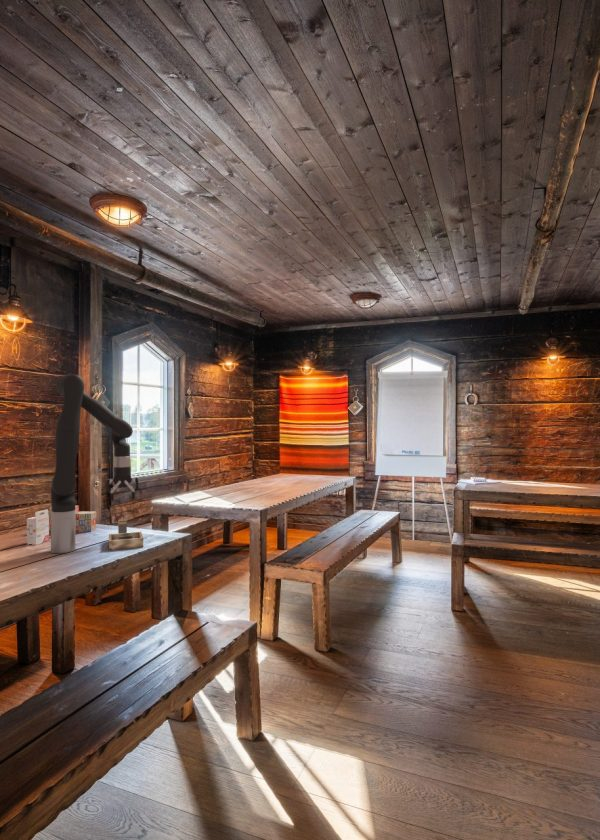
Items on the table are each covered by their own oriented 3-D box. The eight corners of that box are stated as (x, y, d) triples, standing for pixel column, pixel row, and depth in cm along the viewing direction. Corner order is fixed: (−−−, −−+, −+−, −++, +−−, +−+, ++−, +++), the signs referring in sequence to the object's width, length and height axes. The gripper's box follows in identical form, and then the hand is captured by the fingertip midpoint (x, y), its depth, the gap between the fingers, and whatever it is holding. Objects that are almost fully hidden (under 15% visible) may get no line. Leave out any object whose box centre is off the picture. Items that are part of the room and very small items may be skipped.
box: (109, 550, 208) (109, 541, 208) (108, 543, 220) (108, 534, 220) (143, 547, 213) (143, 538, 213) (141, 540, 225) (141, 531, 225)
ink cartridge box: (39, 540, 226) (40, 508, 226) (49, 540, 225) (49, 508, 225) (26, 544, 218) (26, 511, 218) (35, 545, 217) (35, 512, 217)
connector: (118, 540, 225) (118, 521, 225) (118, 538, 228) (118, 519, 228) (126, 539, 226) (126, 520, 226) (126, 538, 230) (126, 519, 230)
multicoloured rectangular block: (96, 529, 248) (96, 505, 248) (90, 532, 242) (90, 507, 242) (55, 529, 249) (55, 505, 249) (48, 531, 243) (48, 507, 243)
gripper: (105, 467, 221) (106, 502, 221) (138, 465, 226) (139, 500, 226) (105, 465, 228) (106, 500, 228) (137, 464, 233) (138, 498, 233)
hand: (122, 500), depth 227 cm, fingers open, 8 cm apart
